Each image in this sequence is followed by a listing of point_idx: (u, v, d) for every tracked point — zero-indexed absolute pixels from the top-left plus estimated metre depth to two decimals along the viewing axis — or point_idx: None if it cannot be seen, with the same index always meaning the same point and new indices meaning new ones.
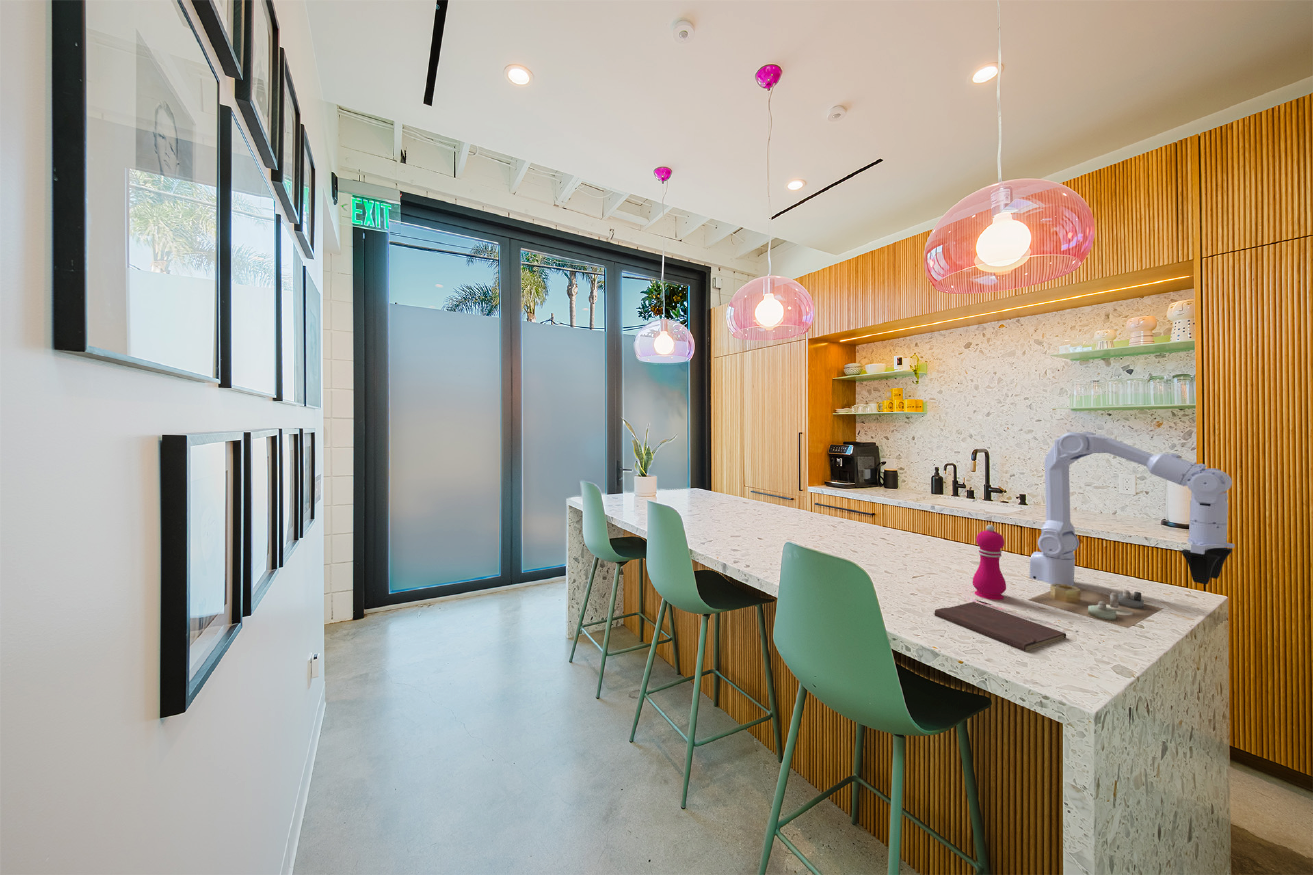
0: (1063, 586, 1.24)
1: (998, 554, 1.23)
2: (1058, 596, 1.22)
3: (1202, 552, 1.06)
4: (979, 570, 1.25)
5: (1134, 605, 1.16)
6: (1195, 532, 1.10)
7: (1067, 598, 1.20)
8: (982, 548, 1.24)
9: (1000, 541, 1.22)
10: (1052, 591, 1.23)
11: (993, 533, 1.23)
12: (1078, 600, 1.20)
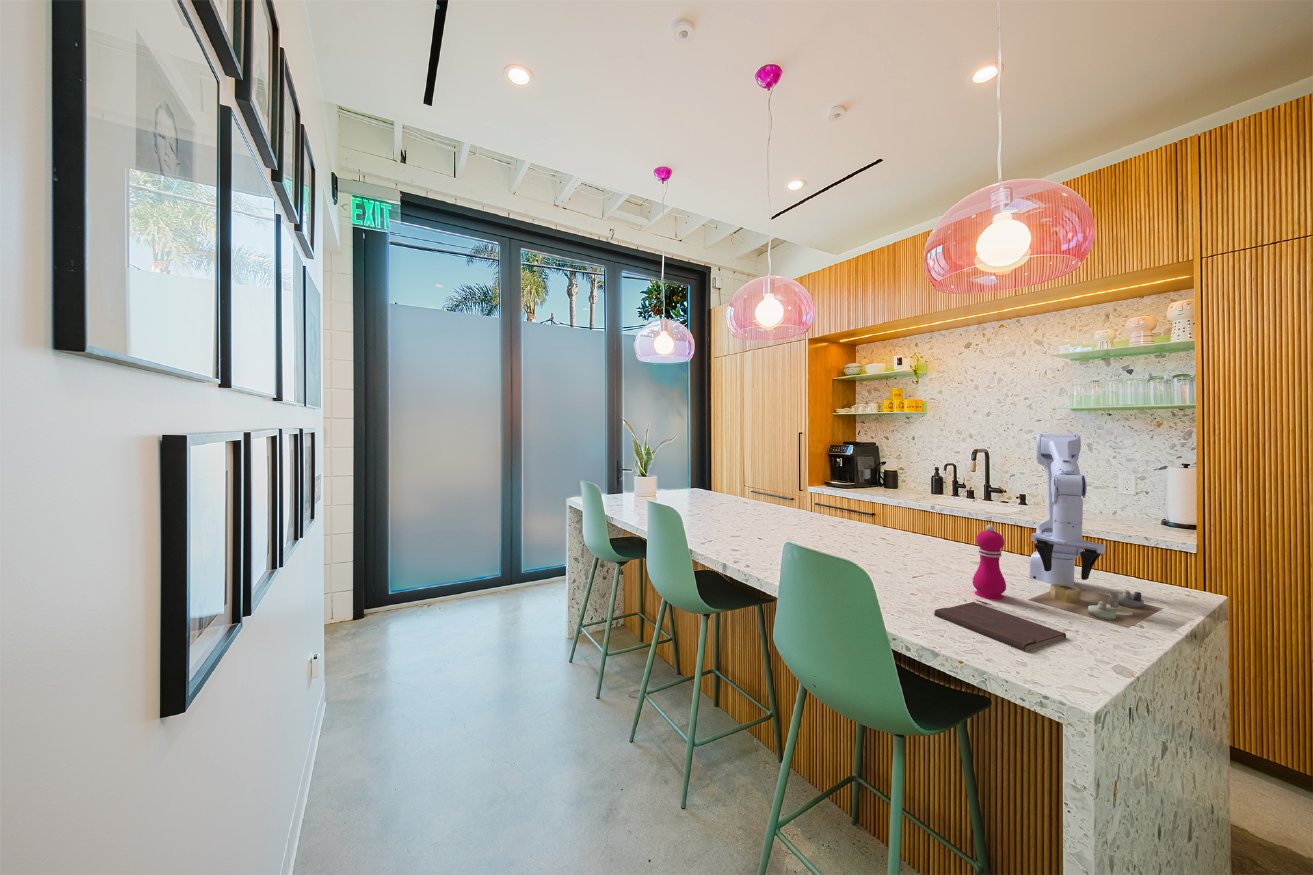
0: (1063, 586, 1.24)
1: (998, 554, 1.23)
2: (1058, 596, 1.22)
3: None
4: (979, 570, 1.25)
5: (1134, 605, 1.16)
6: None
7: (1067, 598, 1.20)
8: (982, 548, 1.24)
9: (1000, 541, 1.22)
10: (1052, 591, 1.23)
11: (993, 533, 1.23)
12: (1078, 600, 1.20)
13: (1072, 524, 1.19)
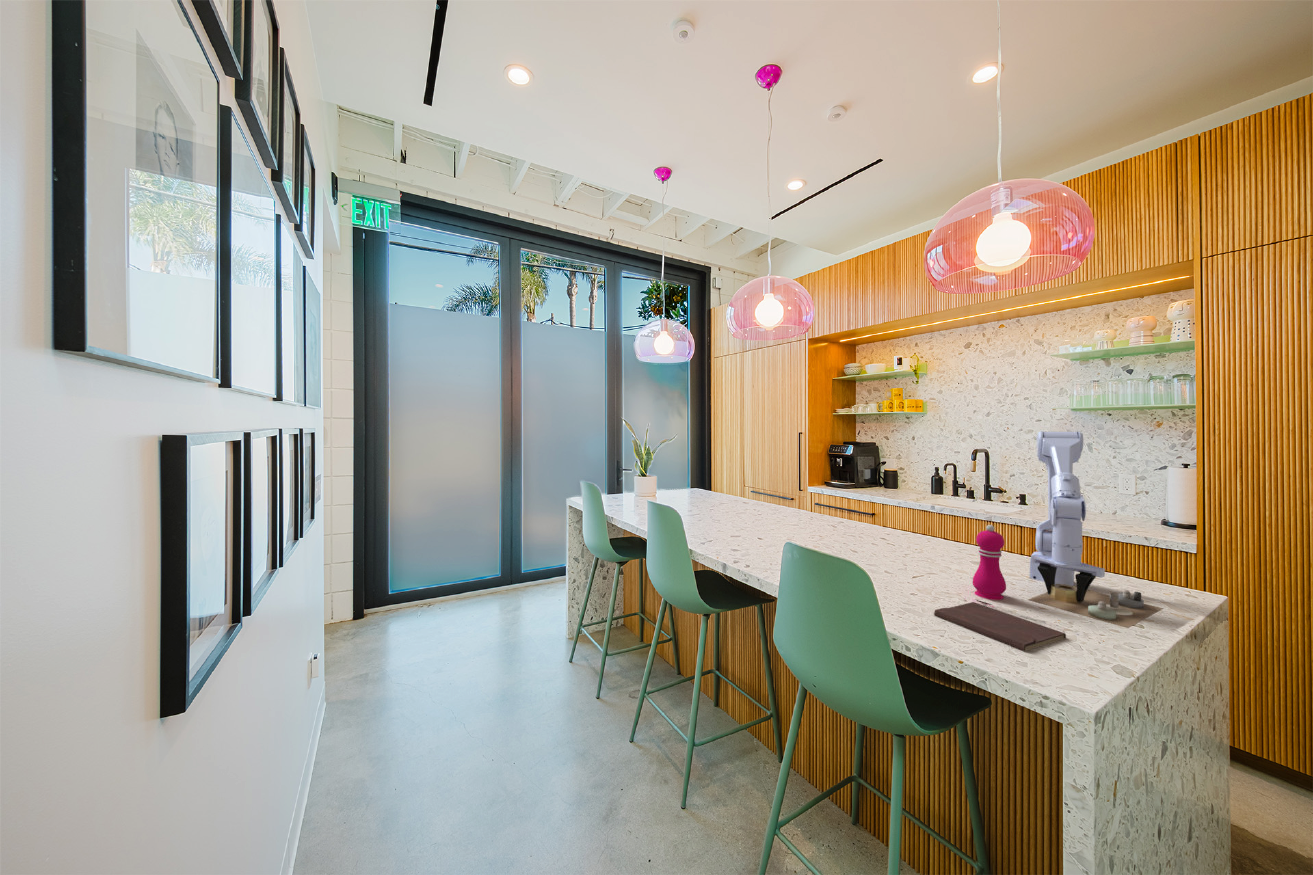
0: (1063, 586, 1.24)
1: (998, 554, 1.23)
2: (1058, 596, 1.22)
3: (1031, 560, 1.28)
4: (979, 570, 1.25)
5: (1134, 605, 1.16)
6: None
7: (1067, 598, 1.20)
8: (982, 548, 1.24)
9: (1000, 541, 1.22)
10: (1052, 591, 1.23)
11: (993, 533, 1.23)
12: None
13: (1071, 547, 1.19)
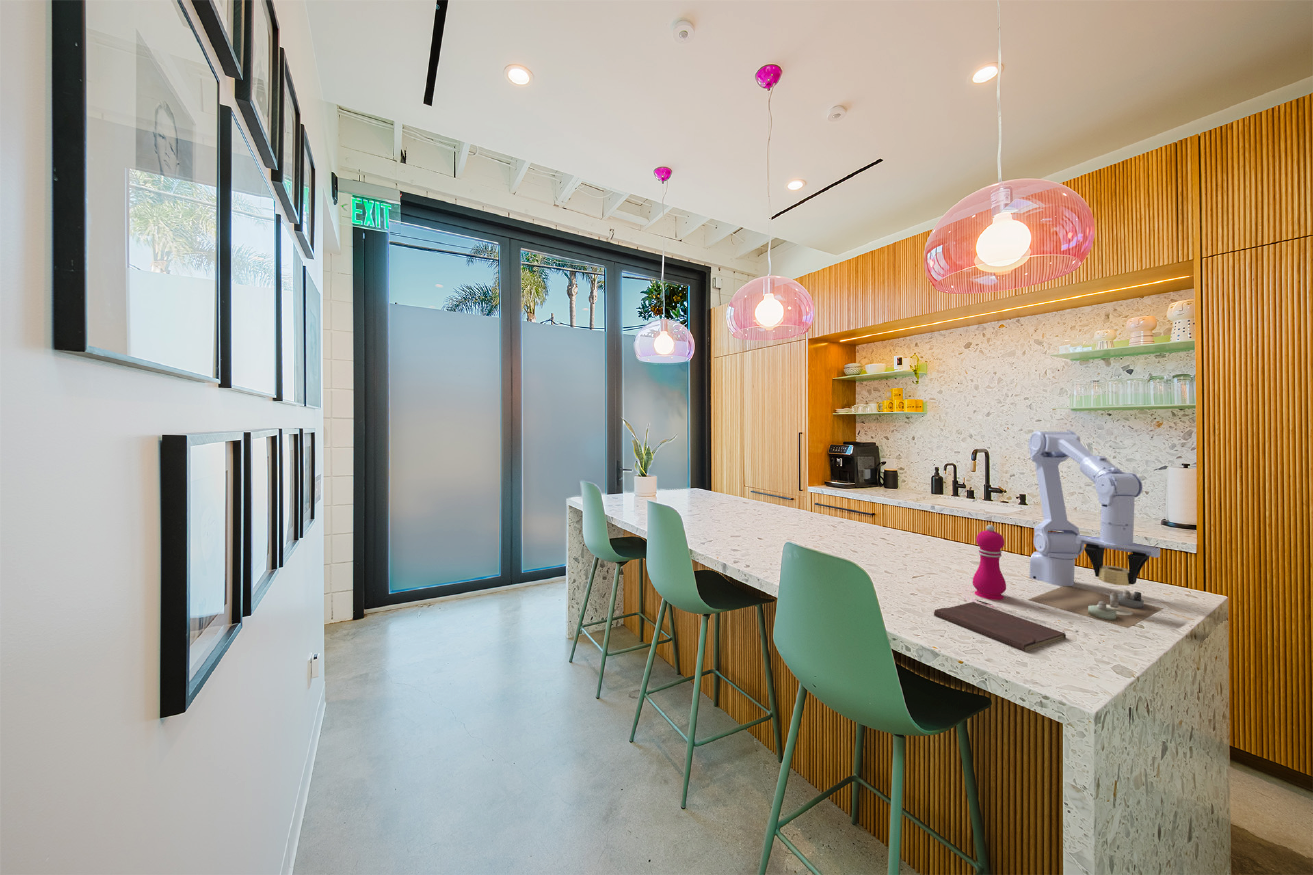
0: (1112, 568, 1.16)
1: (998, 554, 1.23)
2: (1108, 578, 1.14)
3: (1076, 541, 1.21)
4: (979, 570, 1.25)
5: (1134, 605, 1.16)
6: None
7: (1118, 580, 1.13)
8: (982, 548, 1.24)
9: (1000, 541, 1.22)
10: (1101, 573, 1.16)
11: (993, 533, 1.23)
12: None
13: (1123, 526, 1.12)
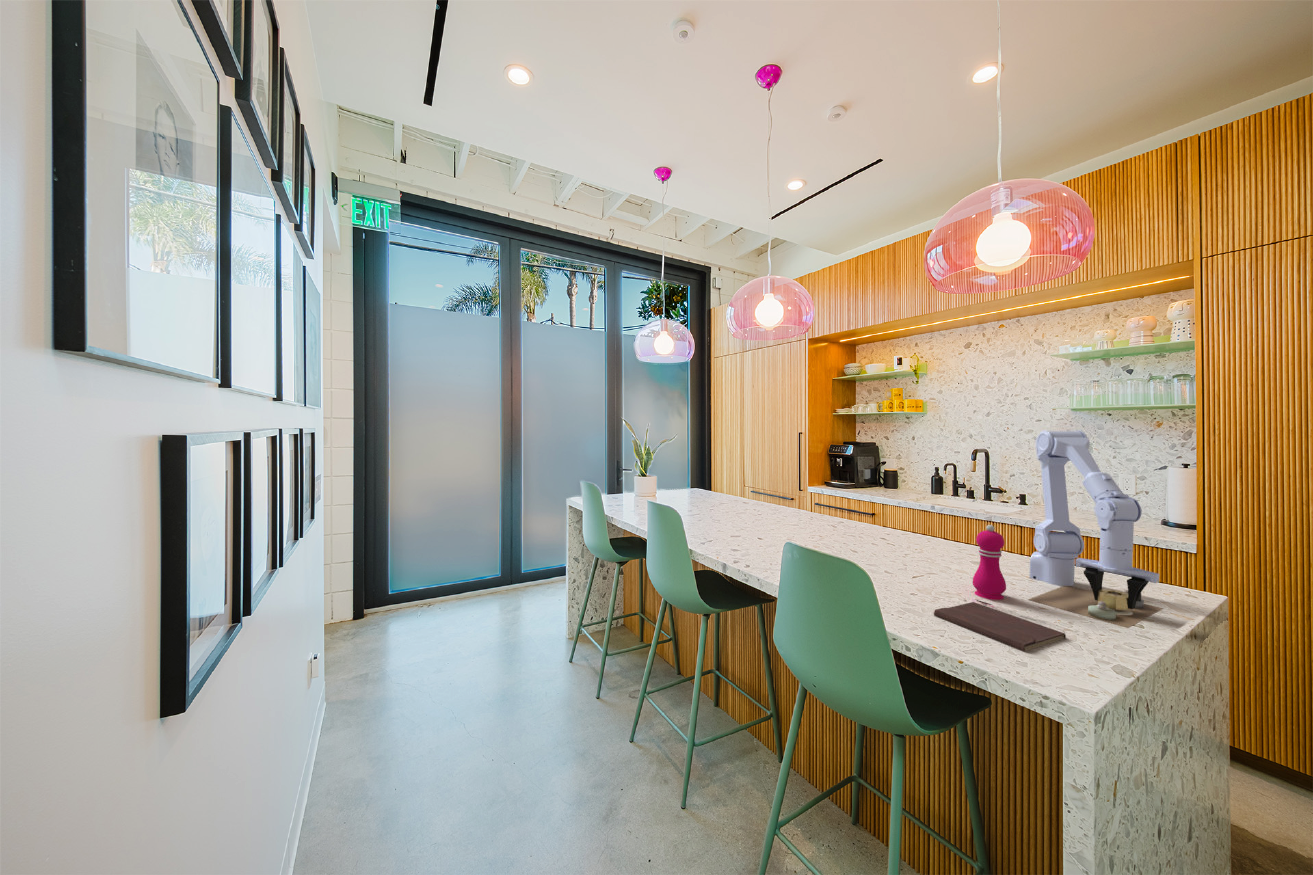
0: (1111, 592, 1.16)
1: (998, 554, 1.23)
2: (1107, 603, 1.14)
3: None
4: (979, 570, 1.25)
5: None
6: None
7: (1117, 605, 1.13)
8: (982, 548, 1.25)
9: (1000, 541, 1.22)
10: (1100, 597, 1.16)
11: (993, 533, 1.23)
12: None
13: (1122, 551, 1.12)
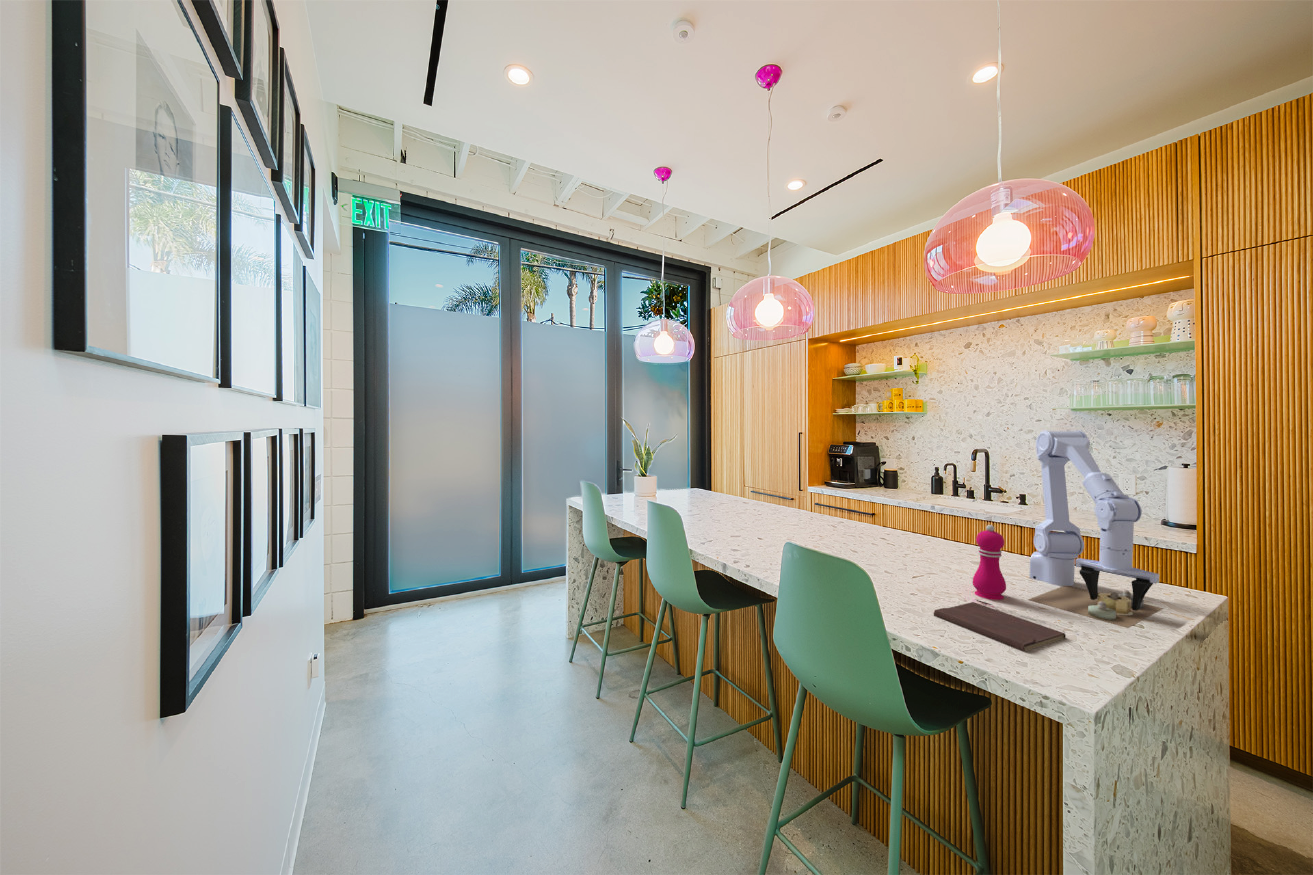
0: None
1: (998, 554, 1.23)
2: (1107, 607, 1.14)
3: None
4: (979, 570, 1.25)
5: None
6: None
7: (1117, 609, 1.13)
8: (982, 548, 1.24)
9: (1000, 541, 1.22)
10: None
11: (993, 533, 1.23)
12: (1129, 611, 1.13)
13: (1122, 551, 1.12)
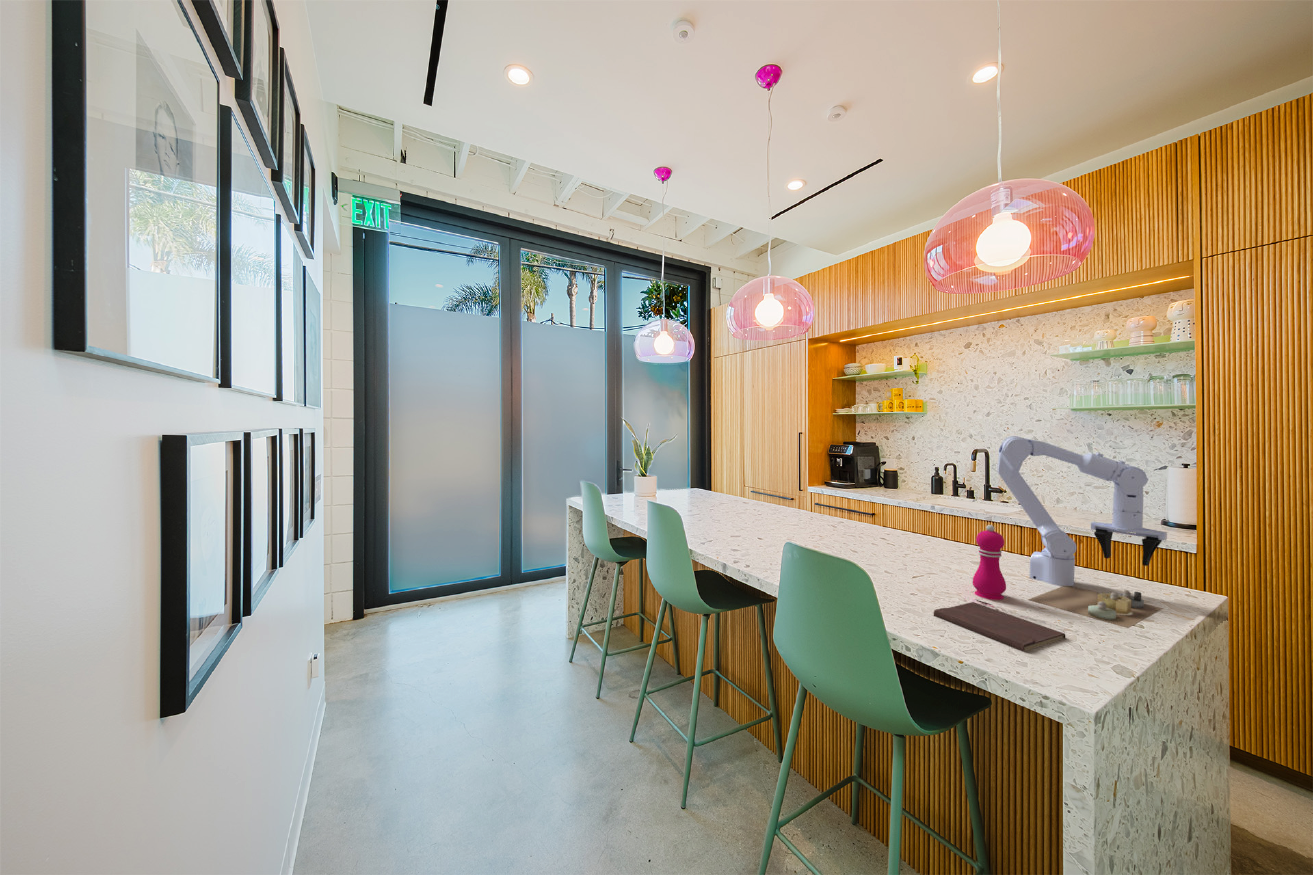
0: None
1: (998, 554, 1.23)
2: (1107, 607, 1.14)
3: None
4: (979, 570, 1.25)
5: (1134, 605, 1.16)
6: None
7: (1117, 609, 1.13)
8: (982, 548, 1.24)
9: (1000, 541, 1.22)
10: None
11: (993, 533, 1.23)
12: (1129, 611, 1.13)
13: (1133, 513, 1.25)
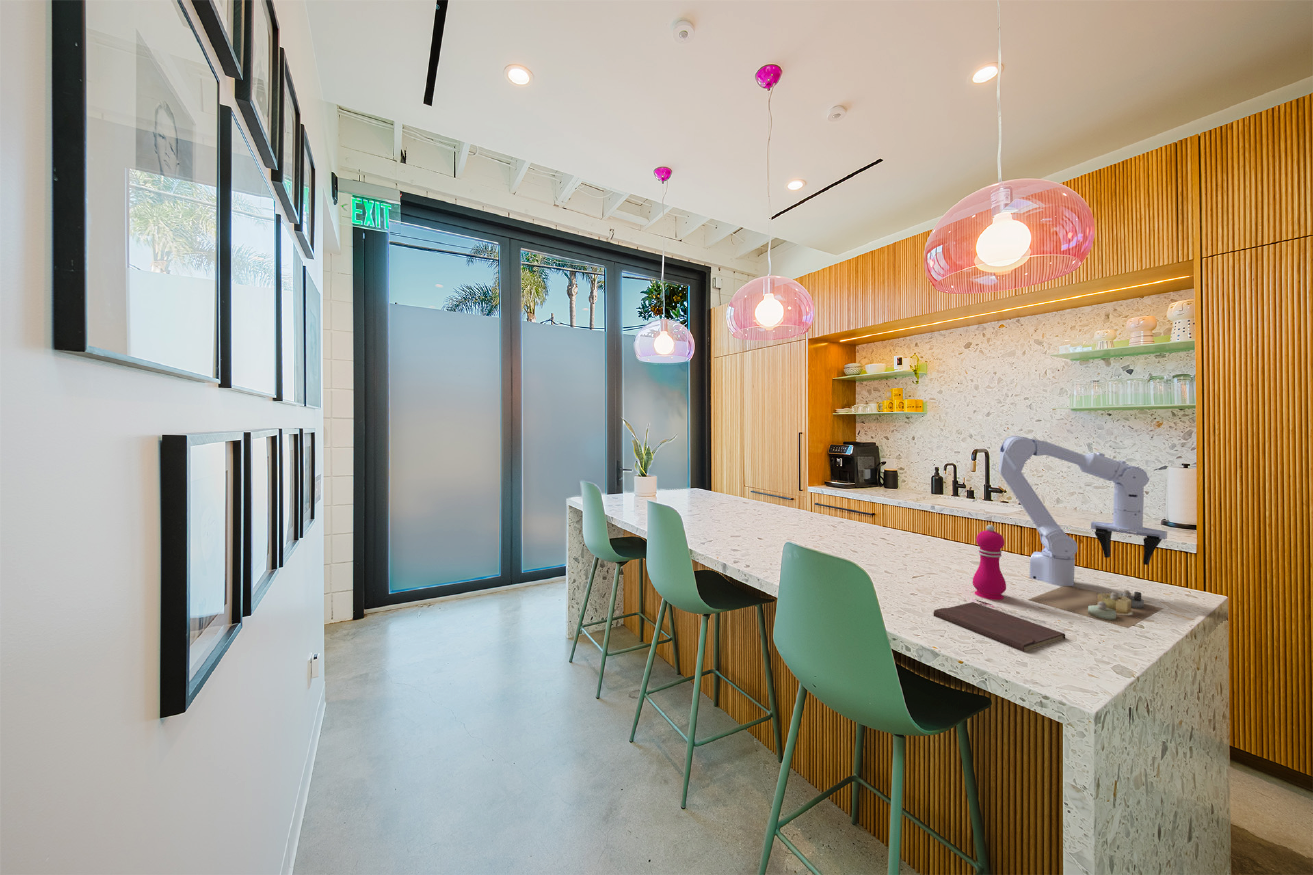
0: None
1: (998, 554, 1.23)
2: (1107, 607, 1.14)
3: None
4: (979, 570, 1.25)
5: (1134, 605, 1.16)
6: None
7: (1117, 609, 1.13)
8: (982, 548, 1.24)
9: (1000, 541, 1.22)
10: None
11: (993, 533, 1.23)
12: (1129, 611, 1.13)
13: (1135, 512, 1.25)
